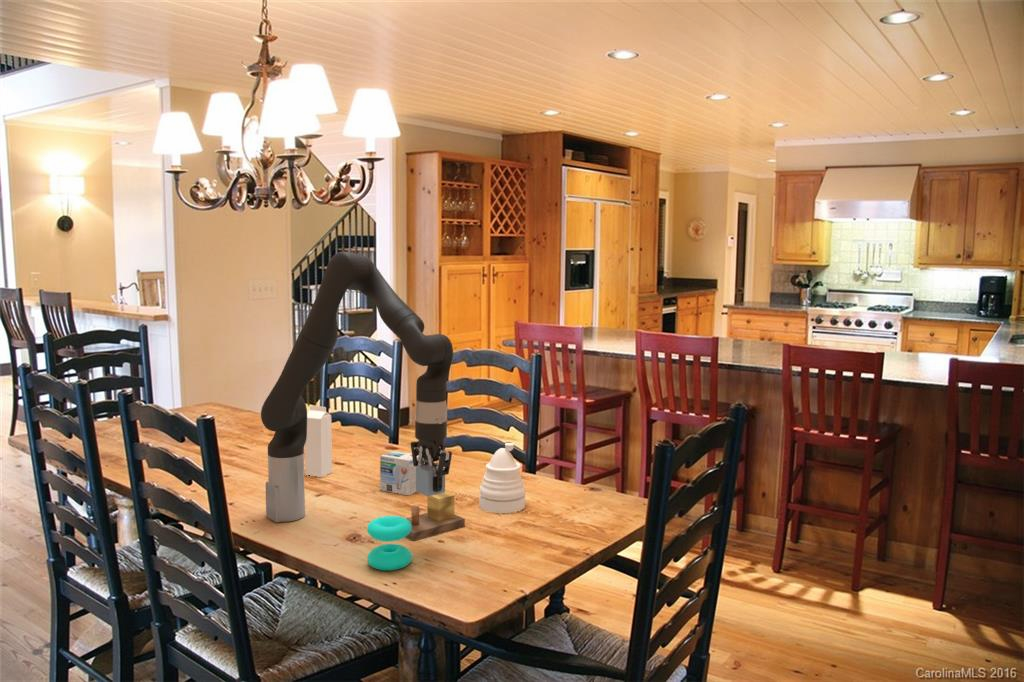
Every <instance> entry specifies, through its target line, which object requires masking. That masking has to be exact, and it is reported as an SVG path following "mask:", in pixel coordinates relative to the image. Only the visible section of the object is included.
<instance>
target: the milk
mask: <svg viewBox="0 0 1024 682" xmlns="http://www.w3.org/2000/svg"><path fill="white" fill-rule="evenodd" d="M332 434H333V433H332V414H331V413H329V412H328V411H327V407H326V406H321V405H320V406H319V405H309V411H307V439H306V443H305V445H304V465H305V476H306V475H310V476H309V477H312V476H317V477H316V478H319V477H322V478H324V477H326V476H325V475H327V474H329V473H331V472H332V473H333V450H332V449H333V448H332V446H333V444H332V443H333V441H332V440H333V439H332V438H333V437H332V436H333V435H332ZM332 473H331V474H332ZM329 475H330V474H329ZM323 476H324V477H323ZM327 476H328V475H327Z"/></svg>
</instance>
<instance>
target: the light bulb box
mask: <svg viewBox="0 0 1024 682" xmlns="http://www.w3.org/2000/svg"><path fill="white" fill-rule="evenodd" d="M418 456H419V455H418ZM418 456H417V461H418ZM379 459H380V460H379V463H380V464H379V465H380V467H379V471H380V472H379V475H380V477H379V480H380V481H379V482H380V483H379V490H380V491H383V492H388V493H393V494H397V493H398V495H403V496H406V495H409V496H411V495H414V494H416V493H418V492H417V491H416V467H417V466H414V465H413V458H412V453H409V452H402V451H397V450H396V451H395V450H392V451H389V452H386V453H385V454H381V455H380V457H379ZM415 492H416V493H415ZM413 493H414V494H413Z"/></svg>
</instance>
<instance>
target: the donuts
mask: <svg viewBox="0 0 1024 682" xmlns="http://www.w3.org/2000/svg"><path fill="white" fill-rule="evenodd" d="M406 518H407V517H403V516H399V515H398V516H397V515H386V516H384V515H383V516H380V517H376V518H375V519H372V520H371V521H370V522H369V523H368V524H367V528H366V529H367V533H368V535H369V536H370V537H371V538H372V539H374V540H376V541H380V542H396V541H400V540H403V539H404V538H407V537H406V536H407V535H408V534H409V533H410V532H411V529H412V526H411V523H410V521H409V520H407V519H406ZM412 559H413V558H412V552H411V551H410V549H409V548H408V547H406V546H404V545H401V544H398V543H385V544H381V545H378V546H376V547H374V548H372V550H370V552H369V553H368V555H367V562H368V565H370V567H372V568H373V569H375V570H376V569H377V570H379V571H386V570H387V572H389V571H396V570H401V569H402V568H405V567H407V566H408V565H409V564H410V563H411V561H412Z"/></svg>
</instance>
